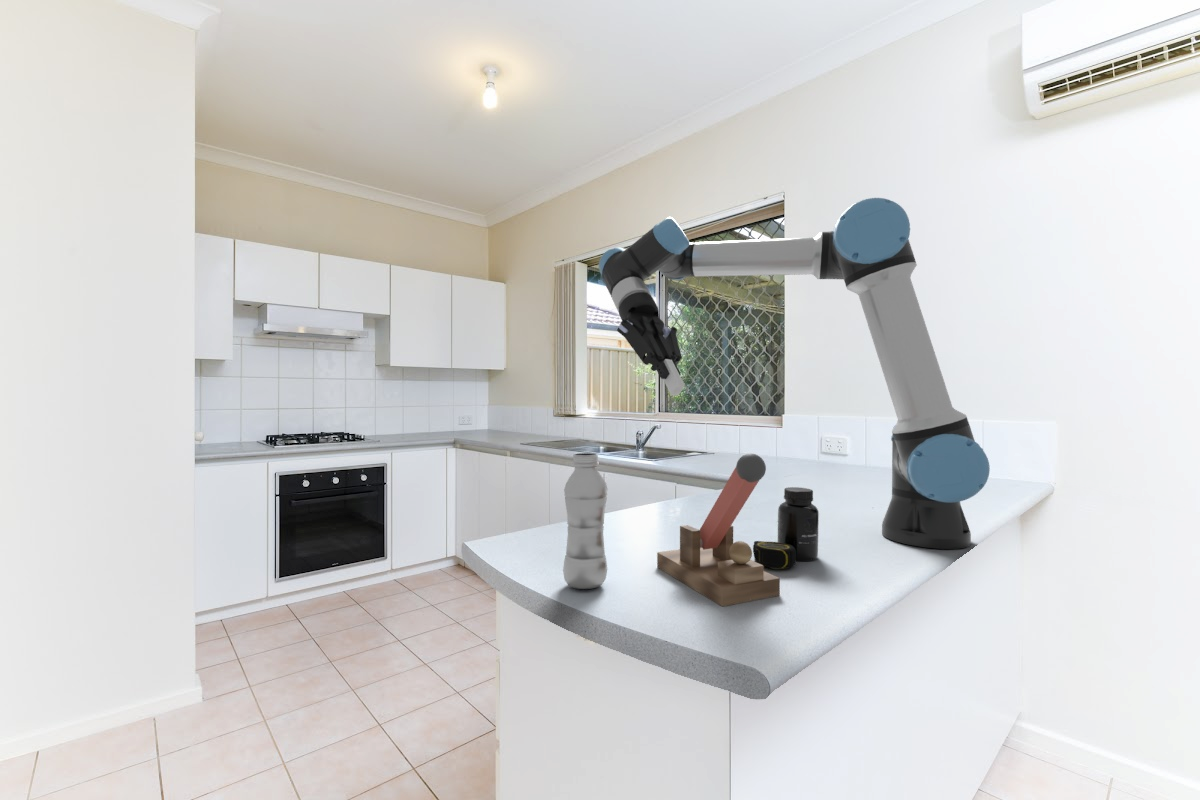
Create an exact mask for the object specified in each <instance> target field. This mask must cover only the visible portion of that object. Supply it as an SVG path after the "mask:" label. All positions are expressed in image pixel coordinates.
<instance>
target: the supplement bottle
mask: <svg viewBox="0 0 1200 800" xmlns="http://www.w3.org/2000/svg"><path fill="white" fill-rule="evenodd" d="M783 493H784V494H783V499H784V500H785V501H784V502H781V503H780V504H779V506H778V508H777V510H778V511H777V542H780V543H786V544H789V545H792V546H793V547H794V548H795V550H796V561H795V562H797V561H798V562H810V561H811V562H812V561H815V560H816V559H817V558H818V555H819V518H820V513H819V509H818V508H817V507H816V505H814V503H812V502H814V491H813V489H810V488H806V487H799V486H798V487H797V486H795V487H793V486H792V487H789V486H788V487H785V488H784V491H783Z"/></svg>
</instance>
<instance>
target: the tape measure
mask: <svg viewBox="0 0 1200 800" xmlns="http://www.w3.org/2000/svg"><path fill="white" fill-rule="evenodd" d="M752 554H753V558H754V562H757V563H759V564H761V565H763V566H764V568H770V569H772V570H782V569H790V568H792V567H794V566H795V565H796V562H797V561H796V550H795V548H794V547H793V546H792V545H789V544H786V543H780V542H778V541H760V540H754V542H753V546H752Z"/></svg>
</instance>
